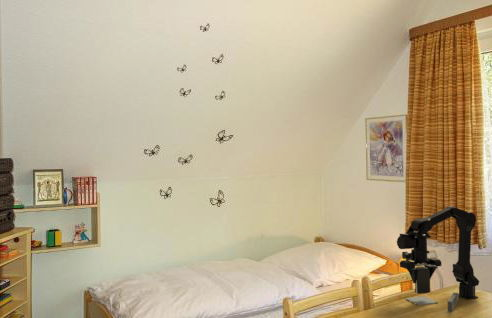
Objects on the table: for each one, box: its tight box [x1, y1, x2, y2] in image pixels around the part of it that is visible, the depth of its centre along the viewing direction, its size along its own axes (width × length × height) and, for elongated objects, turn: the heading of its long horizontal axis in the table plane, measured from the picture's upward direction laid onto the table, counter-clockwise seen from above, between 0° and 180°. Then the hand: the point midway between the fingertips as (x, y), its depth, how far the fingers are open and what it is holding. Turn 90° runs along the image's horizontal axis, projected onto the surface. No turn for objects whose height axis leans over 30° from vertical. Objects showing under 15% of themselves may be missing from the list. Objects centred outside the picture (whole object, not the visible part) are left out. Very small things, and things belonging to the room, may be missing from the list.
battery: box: [414, 266, 431, 295], centre depth 189 cm, size 7×4×11 cm, turn 105°
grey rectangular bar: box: [447, 292, 459, 312], centre depth 182 cm, size 15×2×4 cm, turn 145°
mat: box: [404, 295, 438, 306], centre depth 189 cm, size 10×9×1 cm
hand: (421, 282), depth 189 cm, fingers closed on battery, 7 cm apart
